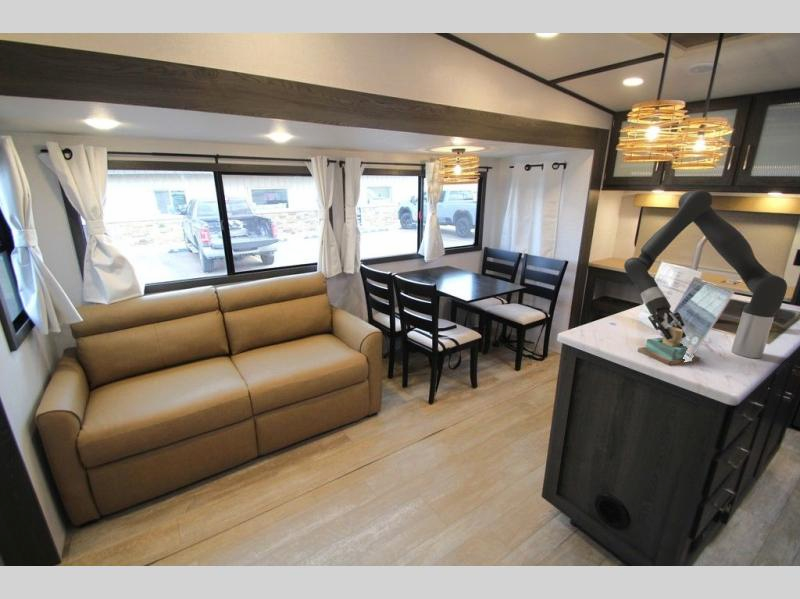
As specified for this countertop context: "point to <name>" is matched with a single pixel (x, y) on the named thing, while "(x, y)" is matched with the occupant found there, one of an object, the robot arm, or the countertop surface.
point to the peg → (674, 337)
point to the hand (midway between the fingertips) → (676, 338)
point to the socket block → (665, 352)
